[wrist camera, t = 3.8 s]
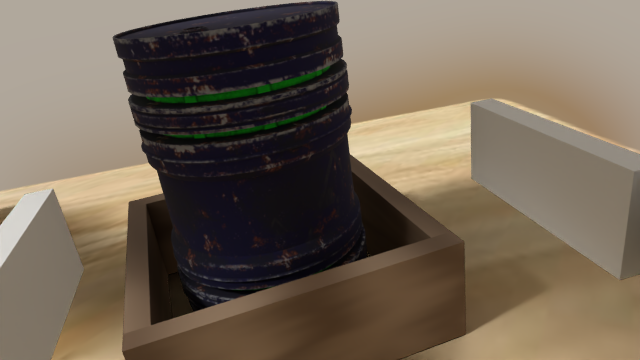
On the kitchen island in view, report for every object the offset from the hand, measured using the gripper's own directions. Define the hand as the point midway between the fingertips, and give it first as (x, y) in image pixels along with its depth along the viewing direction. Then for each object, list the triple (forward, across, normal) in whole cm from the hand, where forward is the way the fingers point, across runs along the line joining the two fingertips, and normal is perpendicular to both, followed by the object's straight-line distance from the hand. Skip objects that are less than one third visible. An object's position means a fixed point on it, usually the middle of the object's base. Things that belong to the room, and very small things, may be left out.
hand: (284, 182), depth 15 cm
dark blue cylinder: (+9, 0, -11) cm, 14 cm away
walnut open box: (+9, 0, -10) cm, 13 cm away
